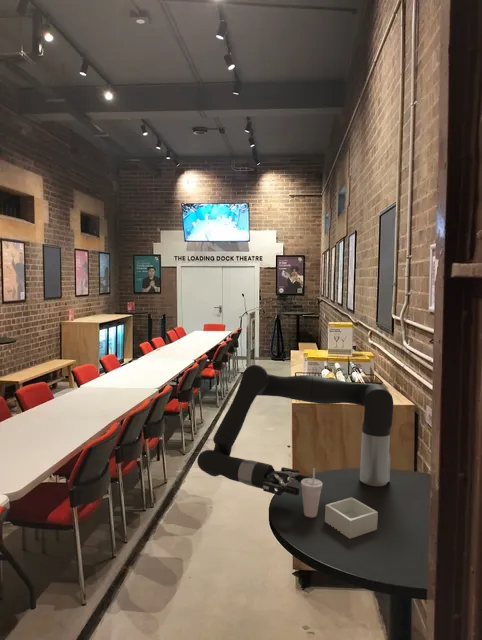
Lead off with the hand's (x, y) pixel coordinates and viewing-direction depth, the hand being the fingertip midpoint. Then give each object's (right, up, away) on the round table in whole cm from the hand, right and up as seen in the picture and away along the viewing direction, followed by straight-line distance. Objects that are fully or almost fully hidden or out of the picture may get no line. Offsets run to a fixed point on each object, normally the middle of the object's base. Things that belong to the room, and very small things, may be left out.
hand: (304, 486), depth 139 cm
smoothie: (+2, -8, 0) cm, 8 cm away
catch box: (+12, -9, -6) cm, 16 cm away
